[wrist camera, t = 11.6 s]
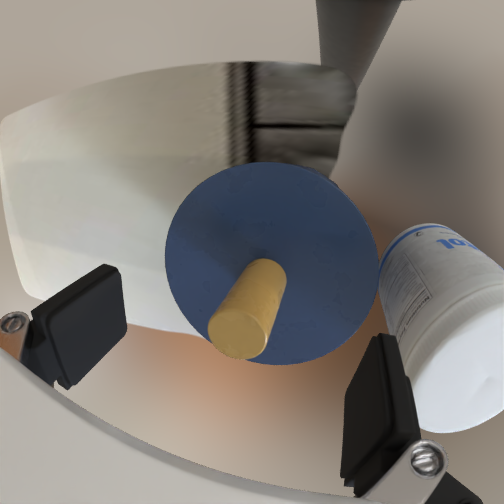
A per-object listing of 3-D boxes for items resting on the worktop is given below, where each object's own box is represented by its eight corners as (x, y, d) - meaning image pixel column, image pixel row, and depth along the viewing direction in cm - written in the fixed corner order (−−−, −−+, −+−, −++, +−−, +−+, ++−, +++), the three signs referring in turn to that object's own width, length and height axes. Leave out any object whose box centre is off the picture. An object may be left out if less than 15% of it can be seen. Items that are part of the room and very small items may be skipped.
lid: (179, 149, 16) (103, 153, 10) (399, 188, 13) (449, 212, 7) (172, 327, 20) (123, 385, 14) (341, 370, 18) (338, 448, 12)
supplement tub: (475, 232, 20) (574, 306, 7) (445, 320, 24) (497, 430, 10) (385, 210, 22) (457, 285, 9) (361, 308, 25) (377, 437, 12)
